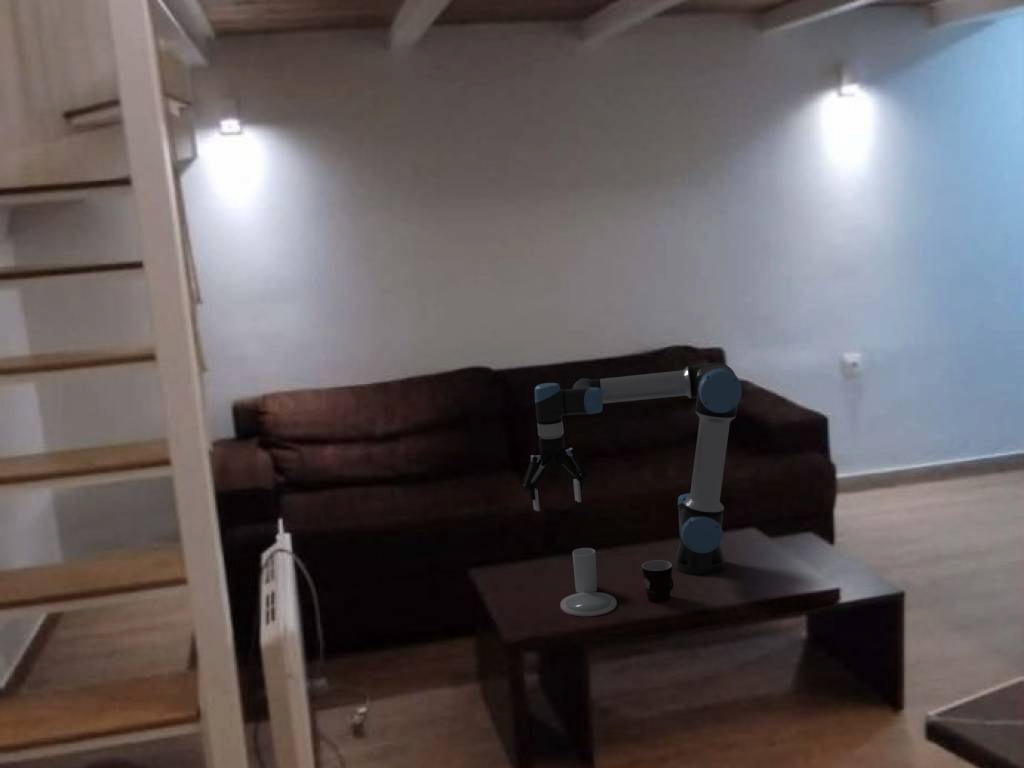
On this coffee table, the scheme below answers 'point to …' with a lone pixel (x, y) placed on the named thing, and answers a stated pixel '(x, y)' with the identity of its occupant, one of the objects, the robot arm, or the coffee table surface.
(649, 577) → the coffee mug
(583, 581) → the mug
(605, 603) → the plate
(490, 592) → the coffee table surface
